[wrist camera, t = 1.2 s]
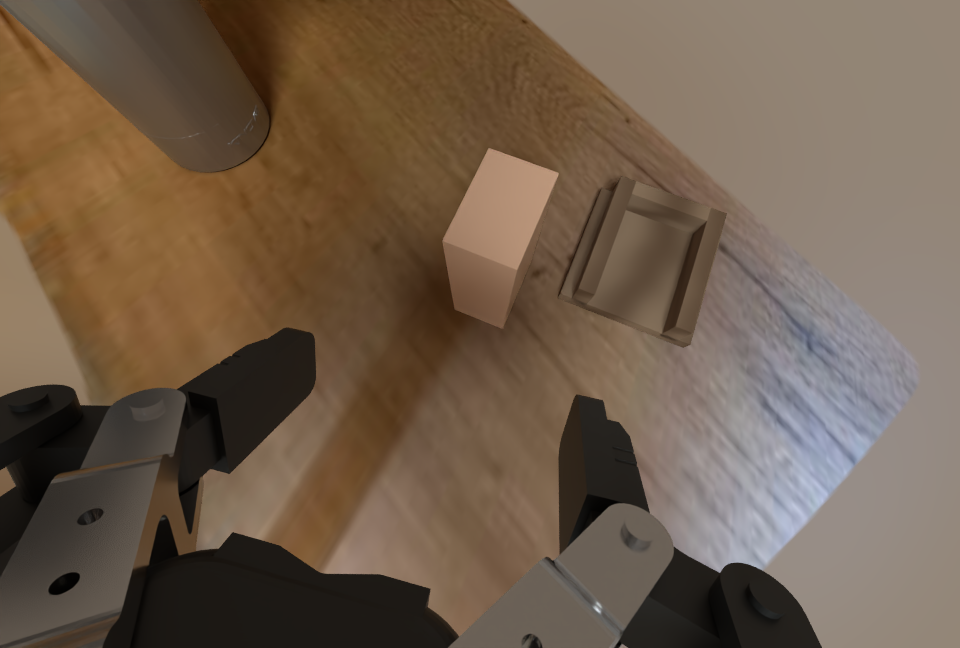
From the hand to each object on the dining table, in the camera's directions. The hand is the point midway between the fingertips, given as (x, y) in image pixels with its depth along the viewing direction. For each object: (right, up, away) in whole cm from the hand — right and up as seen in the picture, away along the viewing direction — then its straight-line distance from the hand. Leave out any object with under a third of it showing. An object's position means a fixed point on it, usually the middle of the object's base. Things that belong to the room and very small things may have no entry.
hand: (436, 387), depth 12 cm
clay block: (+2, +5, +19) cm, 20 cm away
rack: (+14, +6, +19) cm, 25 cm away
